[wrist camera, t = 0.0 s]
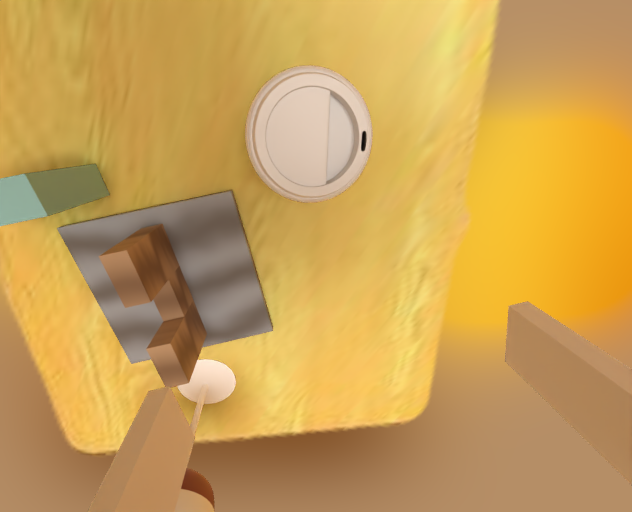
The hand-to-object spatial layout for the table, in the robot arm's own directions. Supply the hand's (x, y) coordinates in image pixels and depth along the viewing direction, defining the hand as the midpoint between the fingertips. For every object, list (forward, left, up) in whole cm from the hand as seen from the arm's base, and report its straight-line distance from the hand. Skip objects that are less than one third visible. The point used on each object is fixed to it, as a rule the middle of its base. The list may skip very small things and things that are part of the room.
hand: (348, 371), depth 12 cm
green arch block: (-8, -25, -28) cm, 39 cm away
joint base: (+6, -17, -28) cm, 33 cm away
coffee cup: (-8, +2, -28) cm, 29 cm away
